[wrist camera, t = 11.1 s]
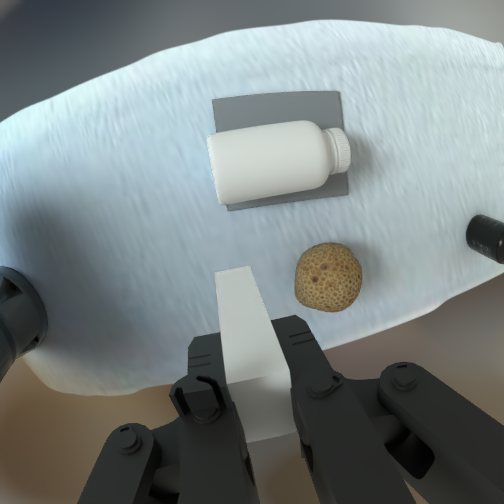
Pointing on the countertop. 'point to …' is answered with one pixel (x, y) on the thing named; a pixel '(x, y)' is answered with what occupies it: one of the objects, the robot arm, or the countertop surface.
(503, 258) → the supplement bottle
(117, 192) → the countertop surface
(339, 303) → the natural sponge
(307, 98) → the mat
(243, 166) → the pill bottle
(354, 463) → the robot arm
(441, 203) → the countertop surface
